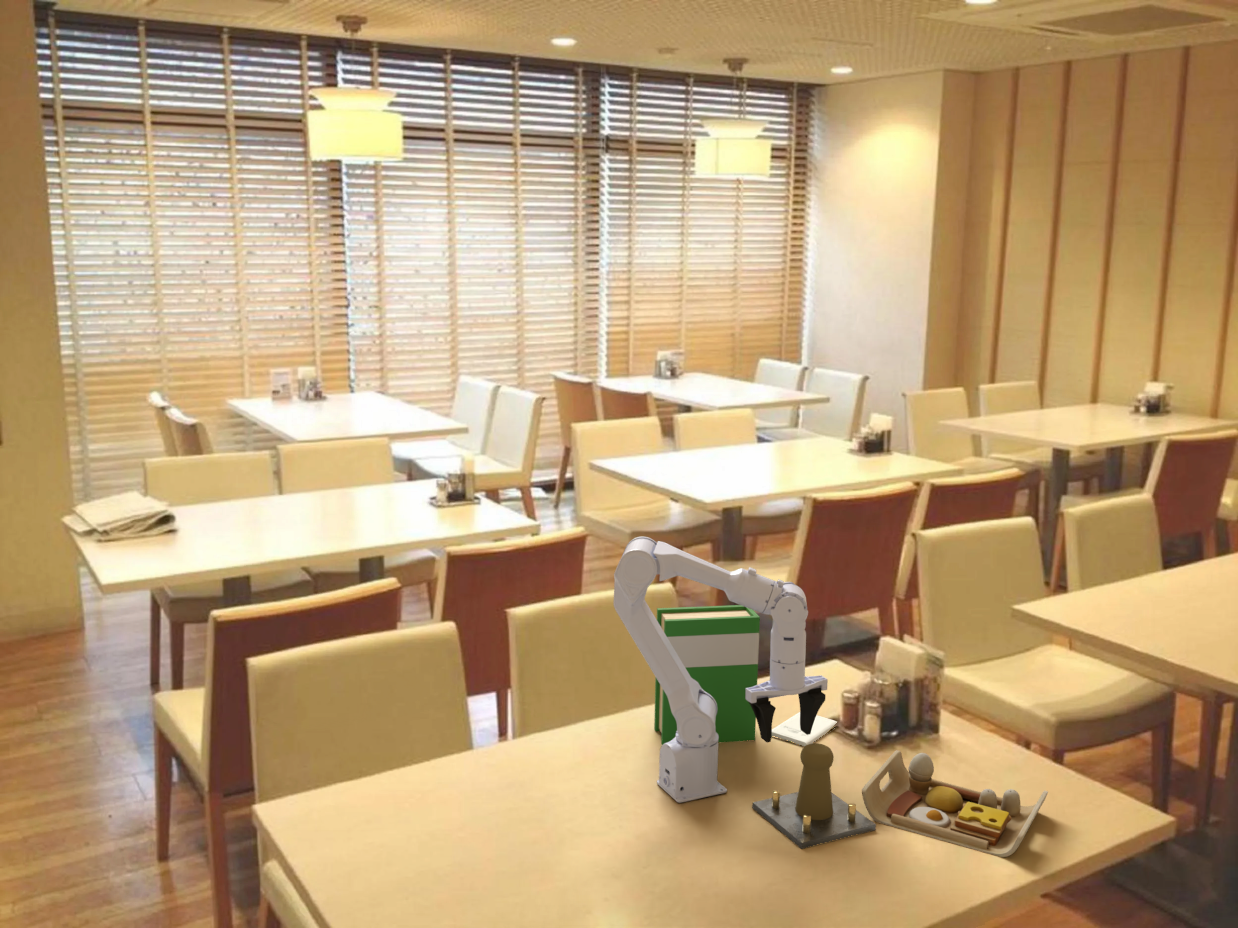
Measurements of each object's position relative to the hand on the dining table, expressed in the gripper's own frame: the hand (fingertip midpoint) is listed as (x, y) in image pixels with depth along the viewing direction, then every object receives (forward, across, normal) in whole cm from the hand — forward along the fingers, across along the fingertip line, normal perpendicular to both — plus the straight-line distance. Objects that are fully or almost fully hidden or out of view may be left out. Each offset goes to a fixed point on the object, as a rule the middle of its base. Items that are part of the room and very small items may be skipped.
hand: (785, 735), depth 186 cm
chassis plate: (+10, 0, +9) cm, 14 cm away
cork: (+10, 0, +8) cm, 13 cm away
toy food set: (+12, -22, +16) cm, 30 cm away
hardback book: (+10, +2, -26) cm, 28 cm away
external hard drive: (+11, -17, -21) cm, 29 cm away
